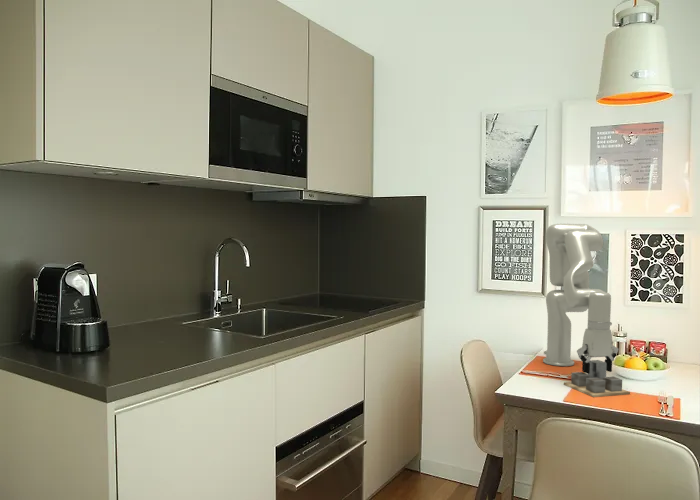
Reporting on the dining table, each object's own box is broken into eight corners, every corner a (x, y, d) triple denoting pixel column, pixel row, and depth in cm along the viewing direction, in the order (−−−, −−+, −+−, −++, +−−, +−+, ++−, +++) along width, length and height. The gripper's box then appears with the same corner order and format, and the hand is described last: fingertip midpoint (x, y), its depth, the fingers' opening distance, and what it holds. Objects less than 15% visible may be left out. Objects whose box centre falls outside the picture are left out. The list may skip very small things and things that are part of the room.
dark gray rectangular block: (587, 382, 209) (588, 360, 209) (597, 381, 211) (598, 360, 210) (595, 385, 205) (596, 363, 205) (605, 384, 206) (606, 362, 206)
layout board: (563, 384, 209) (564, 371, 209) (598, 382, 213) (598, 369, 213) (593, 397, 193) (593, 383, 193) (630, 394, 197) (630, 380, 197)
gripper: (611, 322, 213) (609, 367, 214) (571, 324, 208) (570, 370, 209) (625, 326, 206) (624, 373, 207) (585, 328, 201) (583, 376, 202)
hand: (597, 371), depth 208 cm, fingers open, 9 cm apart
